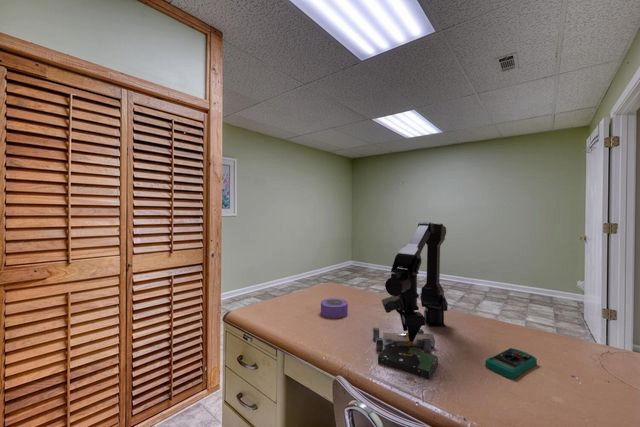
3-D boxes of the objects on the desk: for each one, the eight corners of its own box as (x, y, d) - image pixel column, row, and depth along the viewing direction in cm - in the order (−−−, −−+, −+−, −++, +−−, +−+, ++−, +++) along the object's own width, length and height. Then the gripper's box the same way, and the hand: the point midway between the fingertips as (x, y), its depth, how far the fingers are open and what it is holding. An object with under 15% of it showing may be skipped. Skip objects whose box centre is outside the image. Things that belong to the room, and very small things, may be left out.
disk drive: (377, 365, 82) (430, 381, 74) (377, 356, 82) (430, 371, 74) (389, 351, 91) (438, 363, 83) (389, 342, 91) (438, 354, 83)
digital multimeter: (538, 365, 82) (538, 355, 82) (512, 381, 74) (512, 370, 74) (510, 355, 88) (510, 345, 88) (484, 368, 80) (484, 358, 80)
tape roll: (352, 312, 125) (352, 300, 125) (339, 320, 115) (339, 308, 115) (329, 307, 131) (329, 296, 131) (315, 315, 121) (315, 303, 121)
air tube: (430, 340, 95) (431, 330, 94) (434, 349, 91) (435, 339, 90) (382, 339, 96) (383, 329, 95) (384, 348, 92) (385, 338, 91)
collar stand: (422, 338, 98) (422, 328, 98) (431, 352, 88) (431, 341, 88) (372, 337, 99) (372, 327, 99) (376, 351, 89) (376, 340, 89)
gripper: (379, 282, 103) (379, 324, 103) (388, 297, 85) (388, 349, 85) (410, 282, 103) (410, 324, 103) (426, 298, 84) (426, 350, 84)
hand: (408, 335), depth 94 cm, fingers open, 8 cm apart
